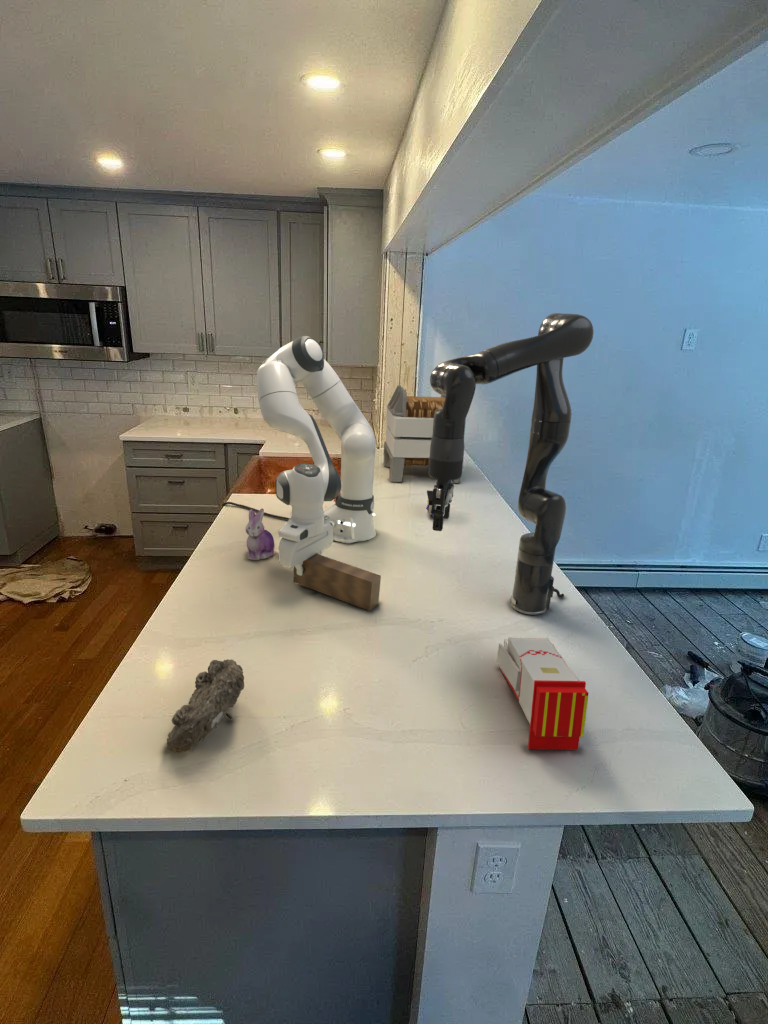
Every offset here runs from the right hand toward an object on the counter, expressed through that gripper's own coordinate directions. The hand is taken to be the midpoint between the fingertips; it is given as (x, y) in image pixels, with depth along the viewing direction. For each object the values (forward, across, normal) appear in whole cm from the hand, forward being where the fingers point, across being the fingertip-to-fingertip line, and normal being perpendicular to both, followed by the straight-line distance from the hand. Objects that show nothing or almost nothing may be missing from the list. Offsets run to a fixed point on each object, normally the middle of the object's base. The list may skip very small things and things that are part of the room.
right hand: (440, 524), depth 131 cm
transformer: (+28, +138, +34) cm, 145 cm away
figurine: (+28, +25, +60) cm, 71 cm away
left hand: (+23, +11, +38) cm, 46 cm away
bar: (+28, +9, +29) cm, 41 cm away
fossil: (+28, -45, +34) cm, 63 cm away
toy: (+28, -20, -25) cm, 43 cm away
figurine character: (+28, +84, +16) cm, 90 cm away
